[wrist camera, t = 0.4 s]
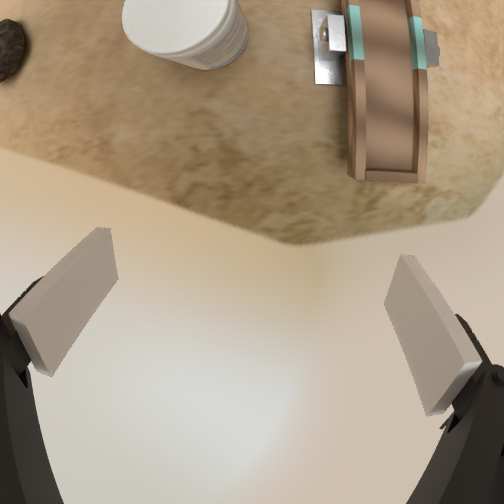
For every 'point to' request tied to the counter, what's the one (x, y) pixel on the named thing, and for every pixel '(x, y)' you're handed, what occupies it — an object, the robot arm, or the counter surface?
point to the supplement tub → (187, 30)
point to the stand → (334, 47)
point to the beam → (386, 90)
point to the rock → (10, 47)
